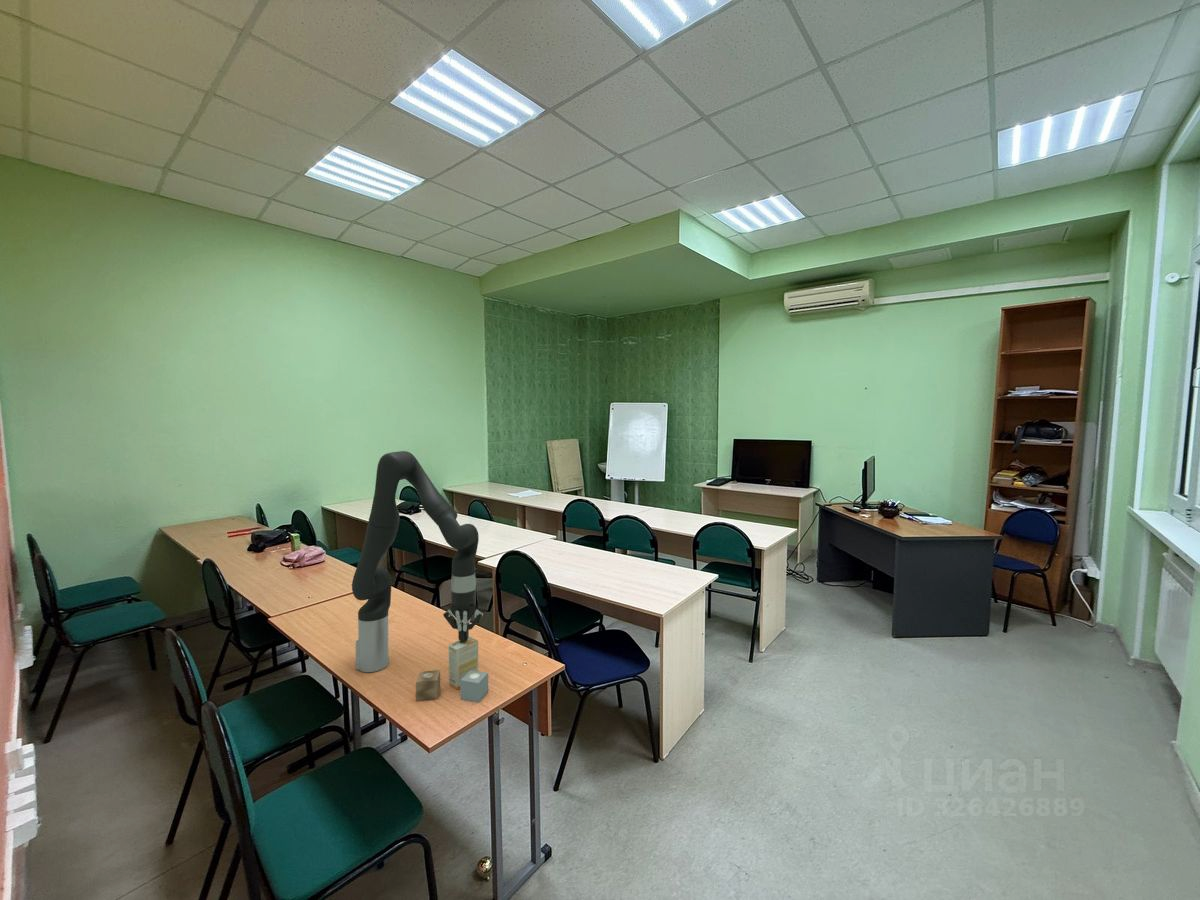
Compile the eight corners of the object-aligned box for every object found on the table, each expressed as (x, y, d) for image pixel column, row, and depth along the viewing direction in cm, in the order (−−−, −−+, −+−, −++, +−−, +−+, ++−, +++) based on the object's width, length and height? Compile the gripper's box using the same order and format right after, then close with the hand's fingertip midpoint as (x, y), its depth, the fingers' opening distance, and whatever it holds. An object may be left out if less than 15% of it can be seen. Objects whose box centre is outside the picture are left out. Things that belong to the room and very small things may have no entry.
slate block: (460, 699, 140) (460, 679, 140) (470, 688, 146) (470, 669, 145) (478, 702, 138) (478, 682, 138) (488, 691, 144) (488, 672, 144)
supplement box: (470, 674, 154) (470, 635, 154) (479, 679, 151) (479, 639, 151) (448, 684, 148) (447, 644, 147) (456, 690, 145) (456, 648, 144)
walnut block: (416, 701, 139) (415, 681, 138) (420, 690, 145) (419, 671, 144) (437, 699, 140) (437, 679, 139) (440, 688, 146) (440, 669, 145)
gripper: (438, 591, 145) (438, 645, 146) (479, 592, 144) (480, 647, 145) (447, 583, 152) (448, 635, 153) (487, 584, 151) (487, 637, 152)
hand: (463, 641), depth 149 cm, fingers closed
